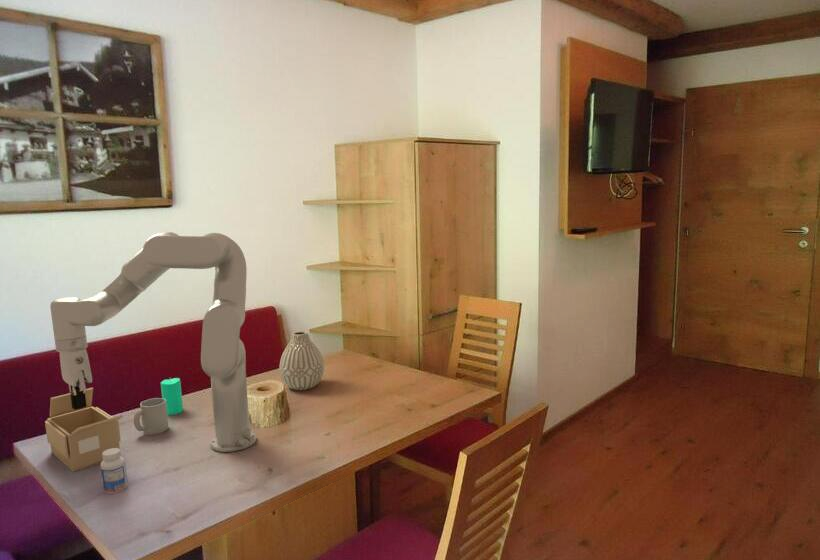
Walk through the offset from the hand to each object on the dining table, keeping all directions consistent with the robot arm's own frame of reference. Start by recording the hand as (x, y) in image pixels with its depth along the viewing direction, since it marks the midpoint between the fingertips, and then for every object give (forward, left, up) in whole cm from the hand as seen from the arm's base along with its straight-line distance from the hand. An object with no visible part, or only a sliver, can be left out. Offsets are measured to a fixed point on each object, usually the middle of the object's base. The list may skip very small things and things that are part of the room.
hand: (79, 407), depth 167 cm
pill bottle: (-27, +2, -14) cm, 31 cm away
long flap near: (-9, 0, -4) cm, 10 cm away
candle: (+12, -31, -14) cm, 36 cm away
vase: (-2, -73, -14) cm, 74 cm away
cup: (+1, -19, -14) cm, 24 cm away
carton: (0, 0, -14) cm, 14 cm away
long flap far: (+8, 0, -4) cm, 9 cm away
